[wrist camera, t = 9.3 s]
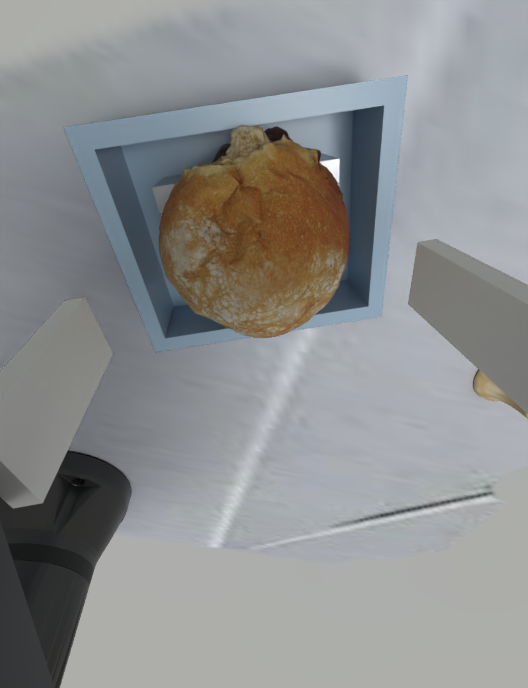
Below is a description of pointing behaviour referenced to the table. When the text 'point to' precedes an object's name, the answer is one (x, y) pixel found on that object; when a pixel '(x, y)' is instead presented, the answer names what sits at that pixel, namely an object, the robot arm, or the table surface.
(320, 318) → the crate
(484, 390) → the hand bell
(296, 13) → the table surface
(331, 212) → the bread roll
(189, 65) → the table surface
